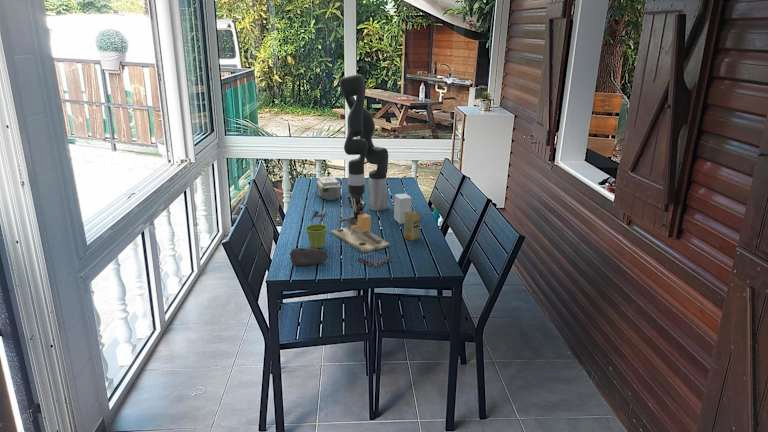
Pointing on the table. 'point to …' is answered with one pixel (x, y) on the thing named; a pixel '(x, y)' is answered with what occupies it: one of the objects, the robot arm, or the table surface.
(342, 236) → the board
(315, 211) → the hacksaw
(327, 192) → the grey lidded box
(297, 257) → the perforated stone tool
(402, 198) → the small box
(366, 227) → the block
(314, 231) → the plant pot
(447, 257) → the table surface
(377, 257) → the woven mat
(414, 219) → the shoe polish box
